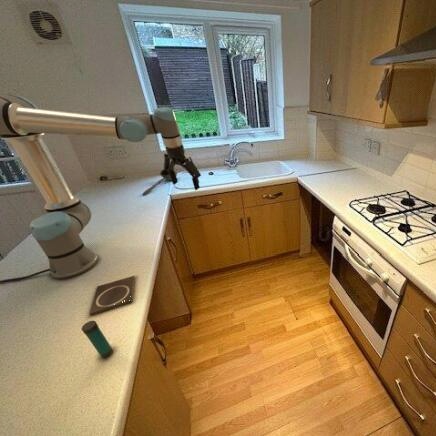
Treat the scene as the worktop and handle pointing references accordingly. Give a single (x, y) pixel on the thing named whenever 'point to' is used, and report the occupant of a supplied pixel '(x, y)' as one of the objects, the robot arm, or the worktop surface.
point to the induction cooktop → (113, 295)
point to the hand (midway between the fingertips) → (186, 186)
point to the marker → (97, 339)
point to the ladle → (164, 175)
